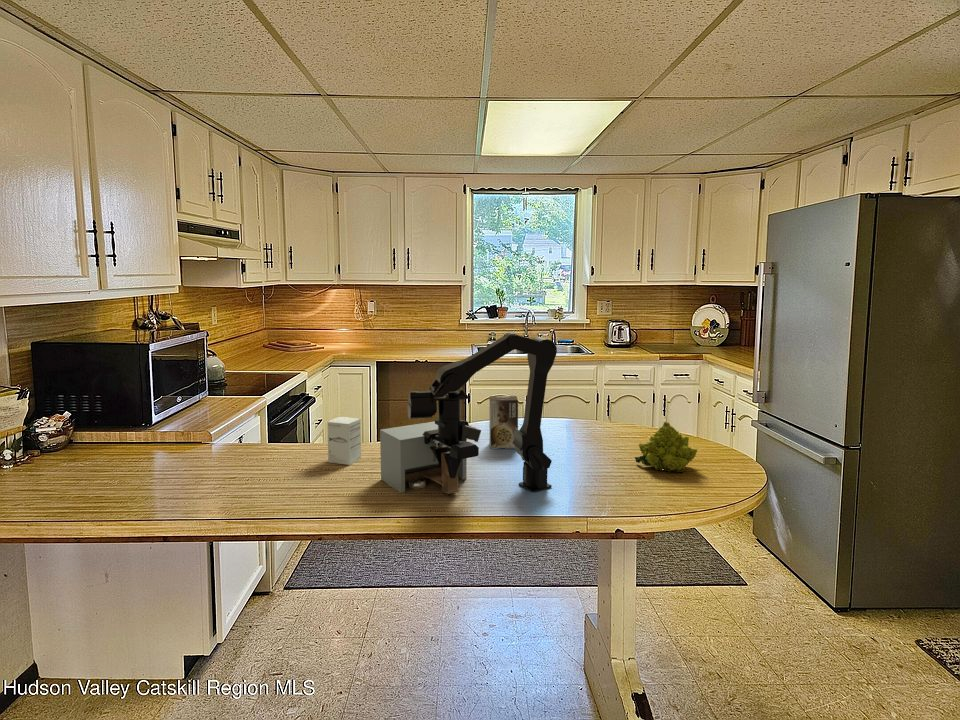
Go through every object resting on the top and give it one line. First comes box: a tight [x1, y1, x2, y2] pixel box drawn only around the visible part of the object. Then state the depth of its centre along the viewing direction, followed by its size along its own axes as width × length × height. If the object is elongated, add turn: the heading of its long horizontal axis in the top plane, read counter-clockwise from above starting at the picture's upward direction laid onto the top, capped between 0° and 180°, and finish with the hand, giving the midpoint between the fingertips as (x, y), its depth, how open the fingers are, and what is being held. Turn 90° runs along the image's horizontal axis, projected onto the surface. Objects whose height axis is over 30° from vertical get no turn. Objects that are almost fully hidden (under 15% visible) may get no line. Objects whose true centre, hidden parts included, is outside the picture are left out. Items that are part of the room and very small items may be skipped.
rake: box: [405, 451, 459, 495], centre depth 163 cm, size 16×15×10 cm
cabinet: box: [379, 420, 468, 494], centre depth 168 cm, size 12×20×14 cm, turn 124°
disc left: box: [408, 478, 426, 490], centre depth 164 cm, size 4×4×2 cm
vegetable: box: [634, 421, 698, 473], centre depth 178 cm, size 15×16×15 cm
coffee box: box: [488, 395, 519, 449], centre depth 200 cm, size 9×6×16 cm
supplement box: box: [327, 416, 362, 466], centre depth 183 cm, size 7×7×13 cm
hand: (449, 476), depth 157 cm, fingers closed on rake, 3 cm apart
